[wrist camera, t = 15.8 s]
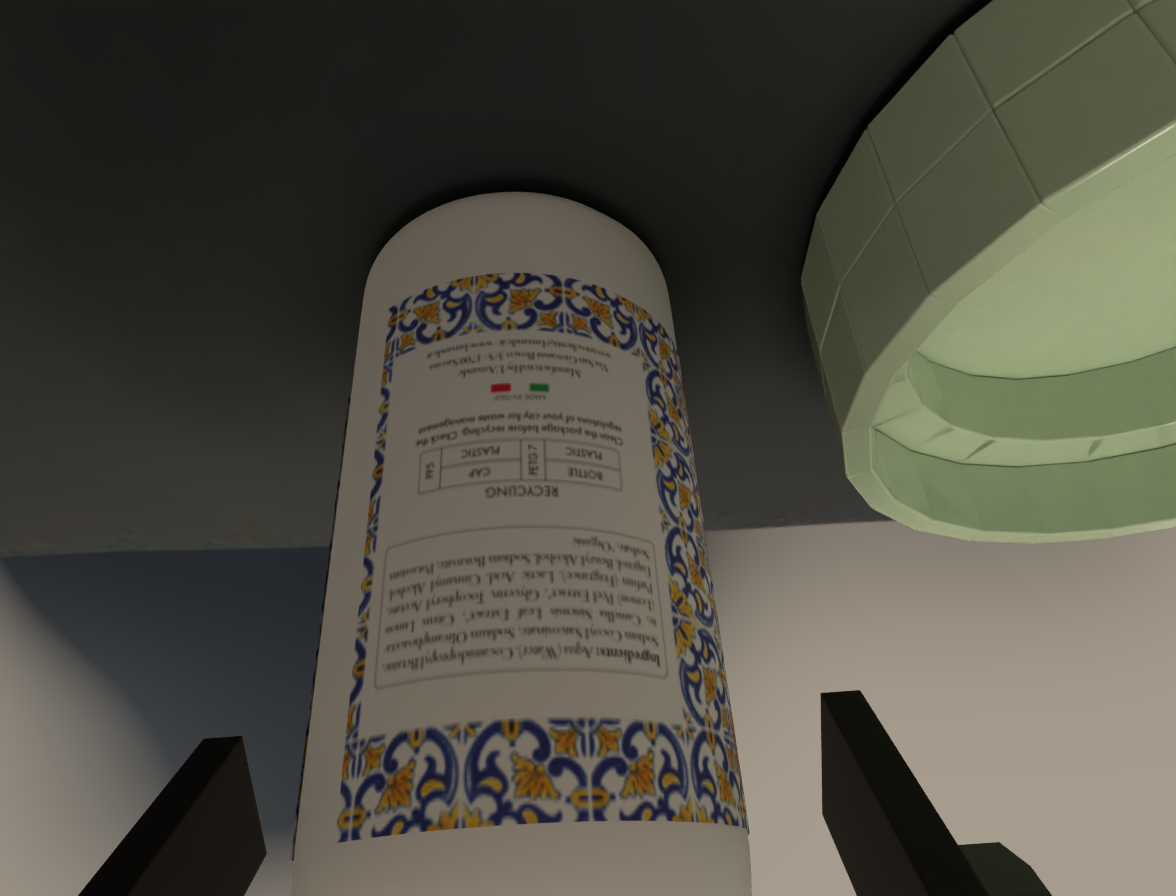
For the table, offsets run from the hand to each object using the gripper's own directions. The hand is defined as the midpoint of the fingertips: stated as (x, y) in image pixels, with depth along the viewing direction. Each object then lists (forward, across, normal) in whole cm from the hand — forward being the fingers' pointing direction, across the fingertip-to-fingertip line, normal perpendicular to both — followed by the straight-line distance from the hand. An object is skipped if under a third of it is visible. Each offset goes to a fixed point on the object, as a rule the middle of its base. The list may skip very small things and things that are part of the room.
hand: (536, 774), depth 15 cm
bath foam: (+5, 0, +9) cm, 11 cm away
